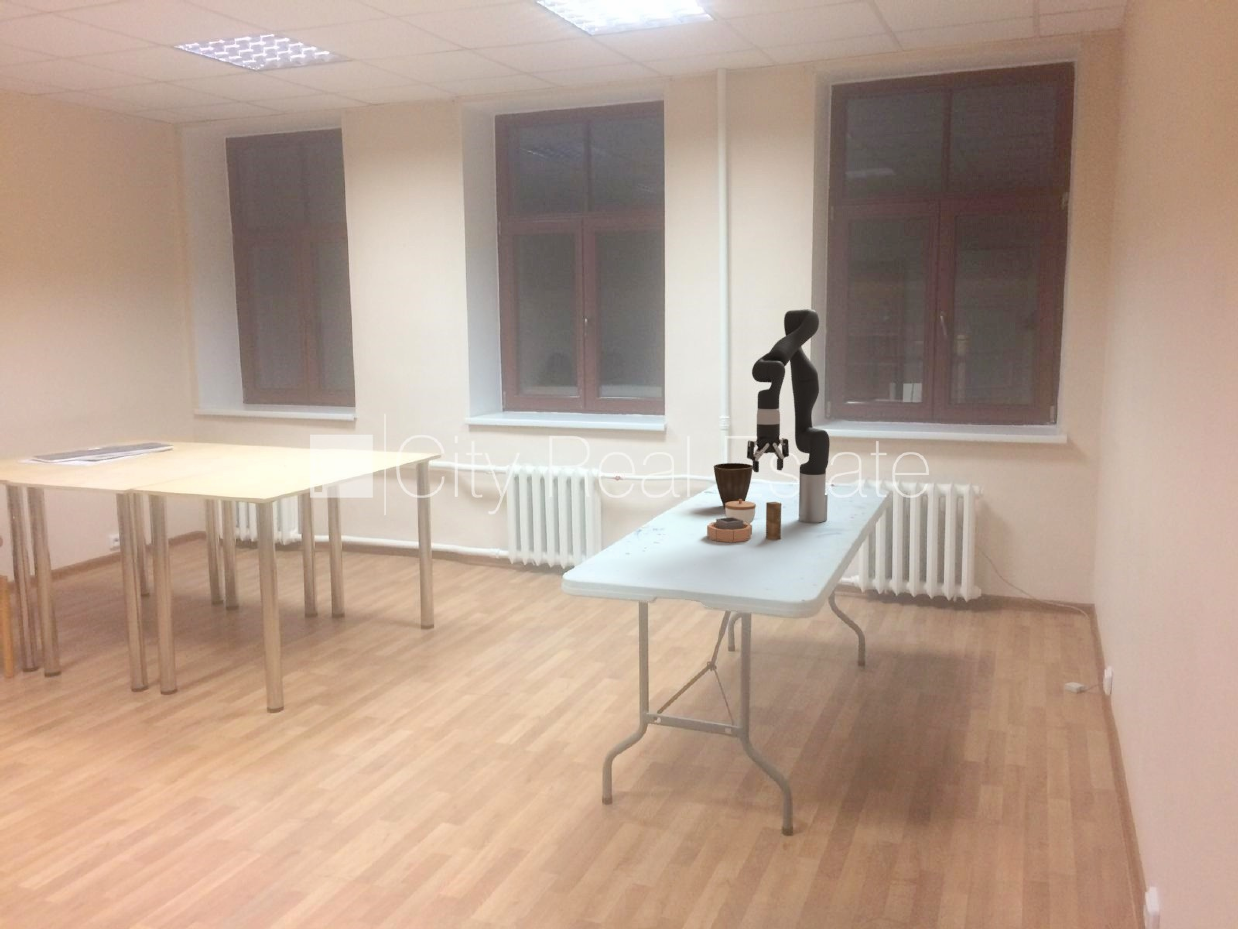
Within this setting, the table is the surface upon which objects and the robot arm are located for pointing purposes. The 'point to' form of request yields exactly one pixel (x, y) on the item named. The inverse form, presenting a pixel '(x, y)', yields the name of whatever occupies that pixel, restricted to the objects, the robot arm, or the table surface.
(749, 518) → the lidded jar
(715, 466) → the plant pot
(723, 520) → the candle pot
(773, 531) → the brown long rectangular block
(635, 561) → the table surface
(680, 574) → the table surface
